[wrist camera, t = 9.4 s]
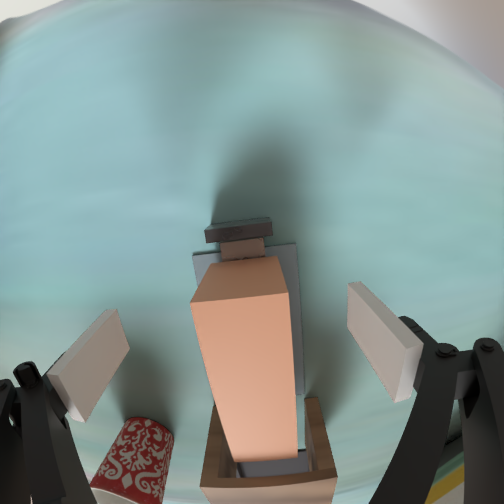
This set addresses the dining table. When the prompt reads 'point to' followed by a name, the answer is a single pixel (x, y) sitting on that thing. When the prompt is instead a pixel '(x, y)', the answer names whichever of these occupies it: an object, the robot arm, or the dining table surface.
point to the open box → (272, 487)
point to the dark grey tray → (273, 467)
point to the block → (249, 356)
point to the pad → (291, 277)
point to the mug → (135, 465)
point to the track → (240, 238)
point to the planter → (449, 476)
